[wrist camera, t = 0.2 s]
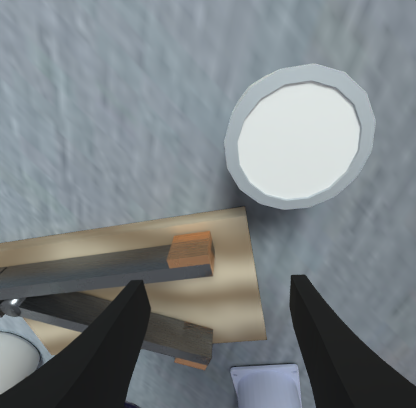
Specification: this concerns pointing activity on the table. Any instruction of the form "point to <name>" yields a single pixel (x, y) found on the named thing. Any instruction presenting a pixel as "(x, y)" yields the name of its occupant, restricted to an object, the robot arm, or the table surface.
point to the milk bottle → (15, 360)
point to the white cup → (299, 136)
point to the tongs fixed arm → (112, 269)
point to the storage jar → (130, 405)
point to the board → (171, 290)
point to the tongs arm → (93, 306)
